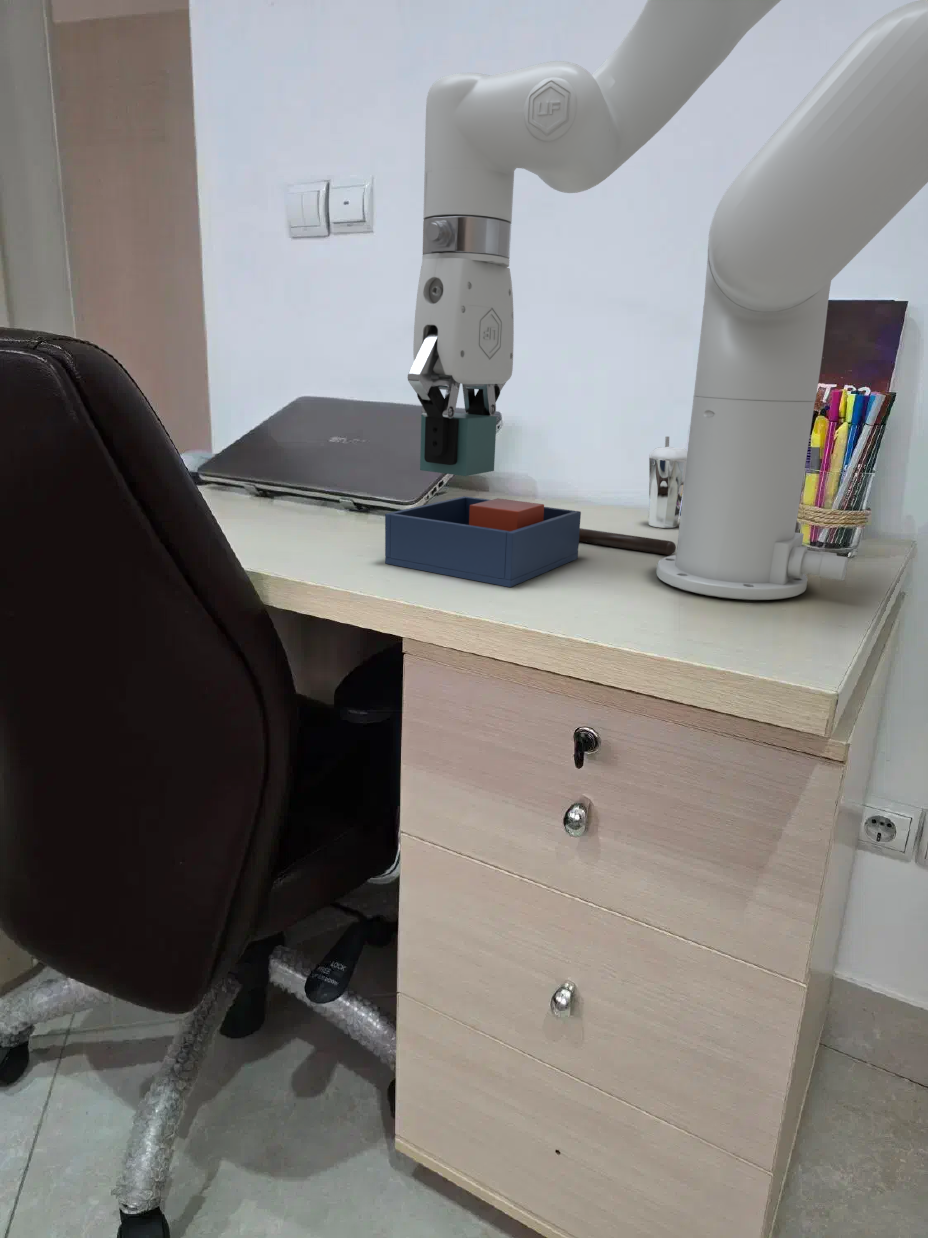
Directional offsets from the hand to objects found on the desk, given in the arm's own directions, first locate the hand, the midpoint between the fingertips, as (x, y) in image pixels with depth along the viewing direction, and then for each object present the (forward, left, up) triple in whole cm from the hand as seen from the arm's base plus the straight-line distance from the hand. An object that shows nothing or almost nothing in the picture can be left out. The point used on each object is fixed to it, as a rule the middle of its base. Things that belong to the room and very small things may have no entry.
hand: (458, 458), depth 76 cm
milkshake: (-10, -29, -9) cm, 32 cm away
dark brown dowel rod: (-3, -14, -9) cm, 17 cm away
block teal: (0, 0, -1) cm, 1 cm away
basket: (-3, 0, -9) cm, 10 cm away
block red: (-5, 0, -9) cm, 10 cm away
